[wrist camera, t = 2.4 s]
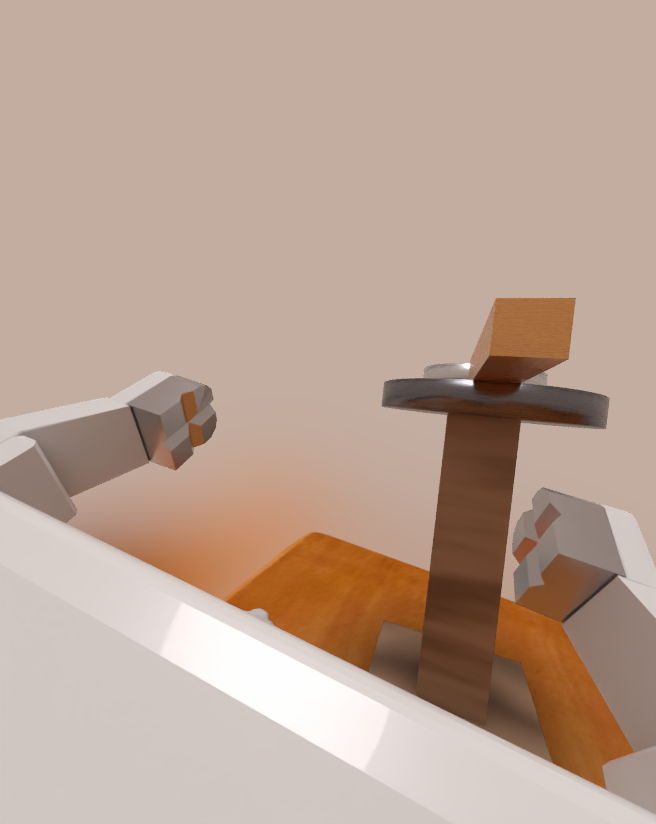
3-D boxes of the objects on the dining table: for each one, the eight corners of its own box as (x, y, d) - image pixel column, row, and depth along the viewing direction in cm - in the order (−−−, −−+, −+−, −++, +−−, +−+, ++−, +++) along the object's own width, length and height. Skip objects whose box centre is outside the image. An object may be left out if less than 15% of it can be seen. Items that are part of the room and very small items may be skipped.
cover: (701, 365, 11) (710, 294, 11) (392, 350, 14) (399, 296, 14) (529, 403, 34) (531, 380, 34) (424, 394, 37) (427, 373, 37)
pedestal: (607, 885, 18) (667, 393, 18) (323, 753, 23) (365, 372, 23) (533, 673, 33) (564, 406, 33) (371, 622, 38) (397, 391, 38)
